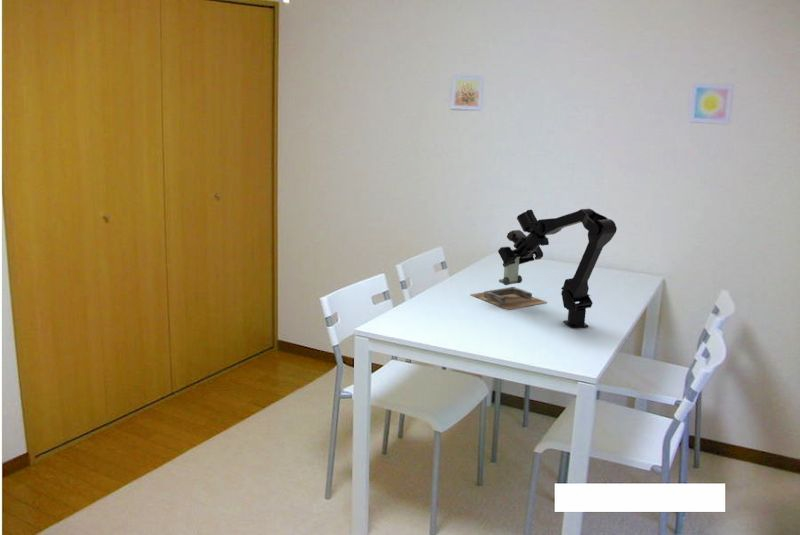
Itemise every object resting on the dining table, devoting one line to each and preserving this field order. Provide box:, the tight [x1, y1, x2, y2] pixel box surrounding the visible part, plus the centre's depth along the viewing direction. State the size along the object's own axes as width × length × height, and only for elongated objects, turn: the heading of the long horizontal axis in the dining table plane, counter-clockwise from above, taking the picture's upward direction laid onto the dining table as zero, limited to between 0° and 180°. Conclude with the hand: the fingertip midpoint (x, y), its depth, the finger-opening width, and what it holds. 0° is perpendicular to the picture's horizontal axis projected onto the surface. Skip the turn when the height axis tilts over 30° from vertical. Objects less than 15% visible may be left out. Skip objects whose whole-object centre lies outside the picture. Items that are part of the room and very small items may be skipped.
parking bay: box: [470, 286, 548, 311], centre depth 265 cm, size 22×20×3 cm
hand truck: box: [498, 249, 523, 286], centre depth 262 cm, size 6×7×13 cm
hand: (509, 265), depth 262 cm, fingers closed on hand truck, 5 cm apart
